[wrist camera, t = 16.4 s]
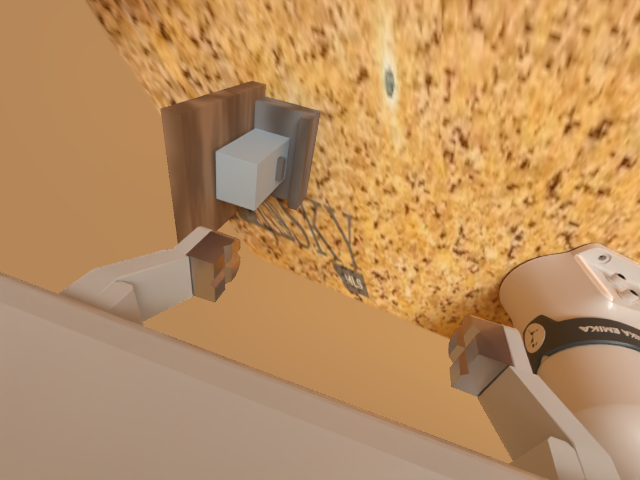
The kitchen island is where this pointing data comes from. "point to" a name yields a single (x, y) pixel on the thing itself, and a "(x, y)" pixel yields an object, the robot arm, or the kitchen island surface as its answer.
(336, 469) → the robot arm
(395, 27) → the kitchen island surface
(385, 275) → the kitchen island surface
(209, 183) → the wall board
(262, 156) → the grey box with notch
